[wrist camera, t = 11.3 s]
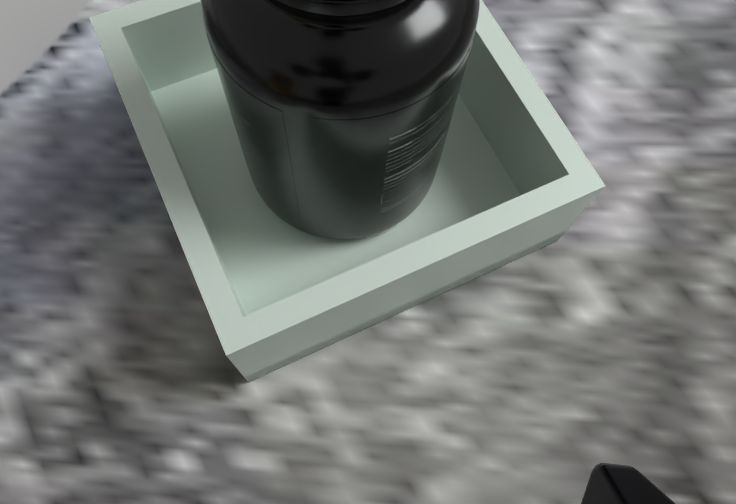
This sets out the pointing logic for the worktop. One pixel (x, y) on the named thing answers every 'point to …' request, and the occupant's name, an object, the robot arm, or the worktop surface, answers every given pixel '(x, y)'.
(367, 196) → the supplement bottle
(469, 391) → the worktop surface
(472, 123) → the box
